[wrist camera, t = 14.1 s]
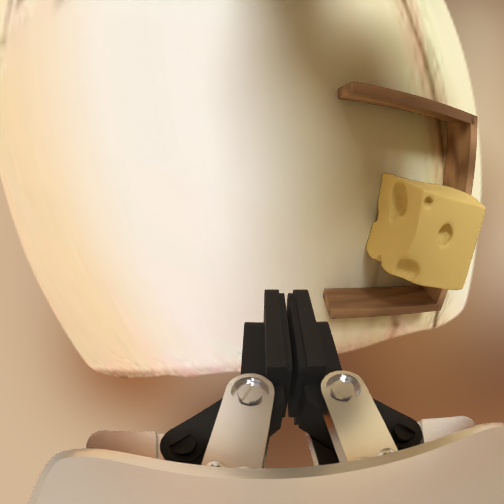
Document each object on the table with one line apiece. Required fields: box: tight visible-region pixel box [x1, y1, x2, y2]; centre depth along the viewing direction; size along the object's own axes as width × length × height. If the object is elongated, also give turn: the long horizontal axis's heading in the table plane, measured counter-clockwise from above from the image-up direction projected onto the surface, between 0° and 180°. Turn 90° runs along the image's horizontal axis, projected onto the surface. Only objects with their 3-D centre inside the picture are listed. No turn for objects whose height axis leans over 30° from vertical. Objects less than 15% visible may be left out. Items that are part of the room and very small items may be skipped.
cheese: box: [366, 173, 486, 290], centre depth 27 cm, size 10×11×10 cm
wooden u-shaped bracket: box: [323, 82, 477, 319], centre depth 29 cm, size 26×17×5 cm, turn 0°
